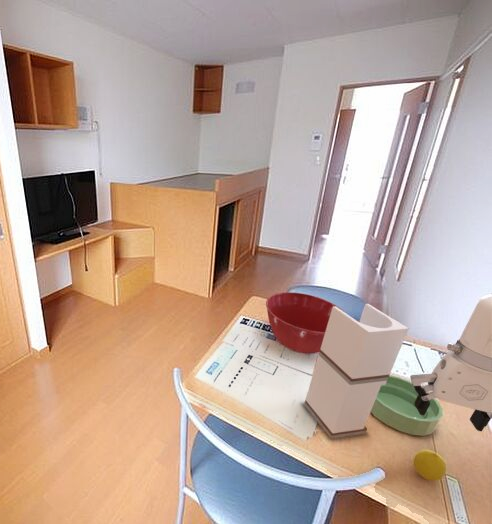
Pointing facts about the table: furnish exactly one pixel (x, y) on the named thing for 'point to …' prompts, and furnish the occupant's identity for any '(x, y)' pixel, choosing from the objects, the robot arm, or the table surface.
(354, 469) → the table surface
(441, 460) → the lemon
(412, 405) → the green bowl
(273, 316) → the mixing bowl
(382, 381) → the tall white box
